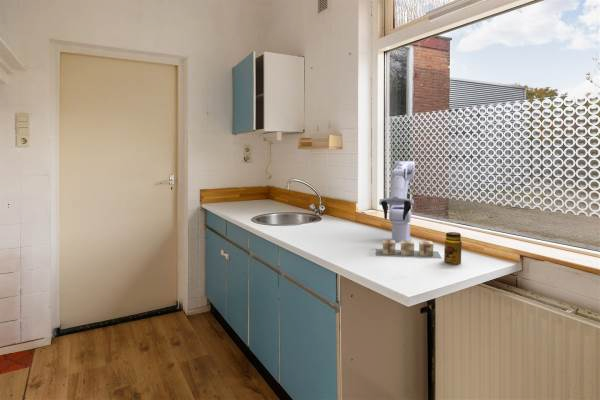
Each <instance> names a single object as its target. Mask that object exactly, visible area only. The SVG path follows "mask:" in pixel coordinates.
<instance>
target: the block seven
mask: <svg viewBox="0 0 600 400" xmlns="http://www.w3.org/2000/svg"><path fill="white" fill-rule="evenodd" d="M418 244H419V245H418V251H419V254H420V256H433V251H434V243H433V241H432V240H419V242H418Z"/></svg>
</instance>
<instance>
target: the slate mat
mask: <svg viewBox="0 0 600 400" xmlns="http://www.w3.org/2000/svg"><path fill="white" fill-rule="evenodd" d="M440 254H441V253H439V251H434V250H433V256H420V254H419V250H414V255H401V249H395V255H390V254H383V248H382V249H380V248H379V249H377V248H376V249H375V257H392V258H393V257H395V258H415V259H416V258H418V259H443V258H442V256H441V255H440Z"/></svg>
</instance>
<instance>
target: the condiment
mask: <svg viewBox="0 0 600 400" xmlns="http://www.w3.org/2000/svg"><path fill="white" fill-rule="evenodd" d="M461 239H462V237H461V233H460V232H456V231H449V232H448V231H447V232H446V234H445V239H444V251H443V252H444V255H443V256H444V257H443V258H444V259H443V261H444V263H445V264H448V265H456V266H457V265H460V264H461V263H462V245H463V244H462V240H461Z"/></svg>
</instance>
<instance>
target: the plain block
mask: <svg viewBox="0 0 600 400" xmlns="http://www.w3.org/2000/svg"><path fill="white" fill-rule="evenodd" d="M400 250H401V255H414V251H415V241H414V240H410V241H405V240H401V242H400Z"/></svg>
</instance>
